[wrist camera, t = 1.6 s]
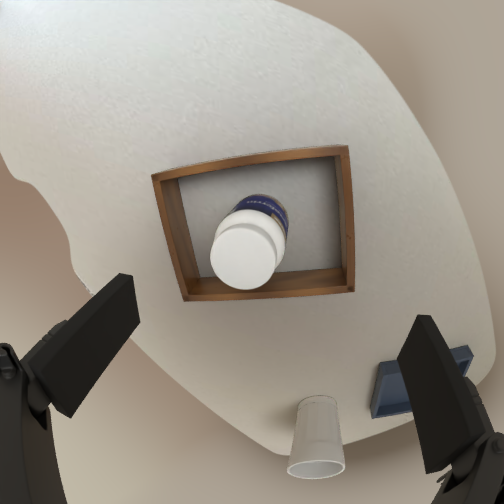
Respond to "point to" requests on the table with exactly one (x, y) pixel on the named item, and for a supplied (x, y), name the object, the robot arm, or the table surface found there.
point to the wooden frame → (279, 282)
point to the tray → (393, 388)
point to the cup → (316, 440)
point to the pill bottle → (250, 242)
